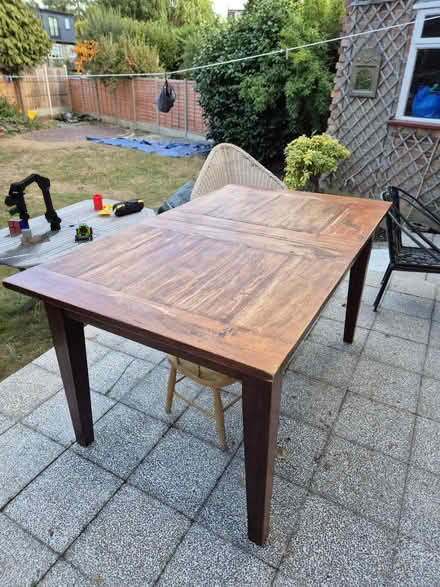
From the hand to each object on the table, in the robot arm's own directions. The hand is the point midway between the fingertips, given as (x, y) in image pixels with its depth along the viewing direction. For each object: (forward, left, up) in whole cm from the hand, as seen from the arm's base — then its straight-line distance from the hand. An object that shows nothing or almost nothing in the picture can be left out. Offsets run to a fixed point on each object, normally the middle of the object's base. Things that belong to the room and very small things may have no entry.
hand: (26, 225), depth 269 cm
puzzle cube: (+4, -30, -13) cm, 33 cm away
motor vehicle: (-36, +5, -13) cm, 38 cm away
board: (-4, -4, -13) cm, 14 cm away
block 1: (+1, +1, -7) cm, 7 cm away
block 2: (+1, +1, -12) cm, 12 cm away
